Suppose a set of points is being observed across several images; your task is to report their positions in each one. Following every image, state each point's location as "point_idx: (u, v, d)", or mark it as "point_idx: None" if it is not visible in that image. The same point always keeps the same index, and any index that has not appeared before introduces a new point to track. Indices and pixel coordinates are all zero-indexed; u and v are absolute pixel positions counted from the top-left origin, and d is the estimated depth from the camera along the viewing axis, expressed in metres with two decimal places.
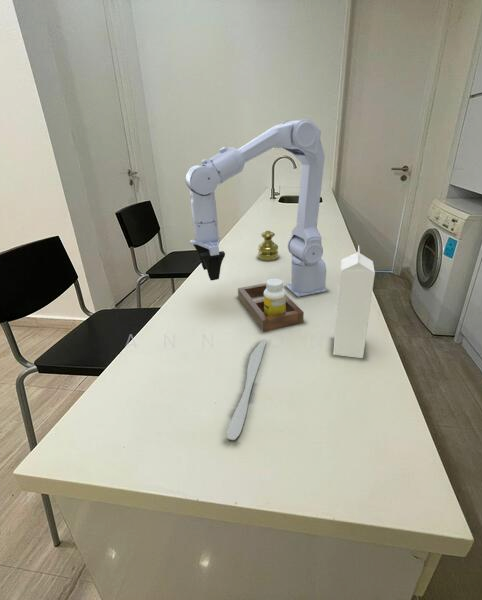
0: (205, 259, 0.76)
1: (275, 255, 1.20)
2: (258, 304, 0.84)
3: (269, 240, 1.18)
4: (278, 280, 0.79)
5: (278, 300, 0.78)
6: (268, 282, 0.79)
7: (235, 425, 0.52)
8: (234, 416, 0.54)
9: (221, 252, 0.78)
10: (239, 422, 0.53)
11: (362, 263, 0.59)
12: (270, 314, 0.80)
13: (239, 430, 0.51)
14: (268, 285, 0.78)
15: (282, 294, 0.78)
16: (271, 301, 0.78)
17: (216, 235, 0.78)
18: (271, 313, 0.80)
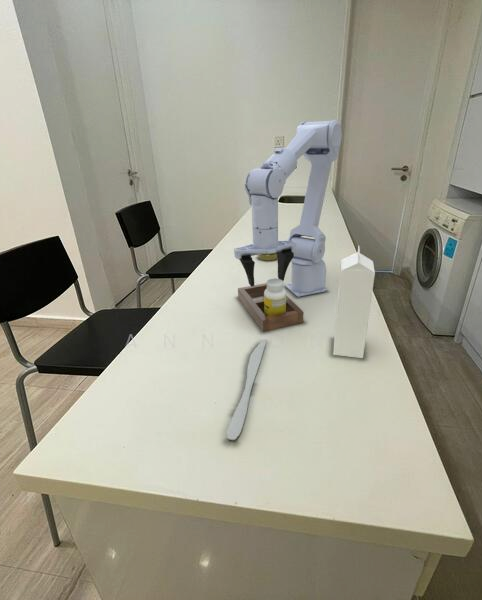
0: None
1: (275, 255, 1.20)
2: (258, 304, 0.84)
3: None
4: (279, 280, 0.79)
5: (278, 301, 0.78)
6: (269, 282, 0.78)
7: (235, 425, 0.52)
8: (234, 416, 0.54)
9: None
10: (239, 422, 0.53)
11: (362, 263, 0.59)
12: (270, 314, 0.80)
13: (239, 430, 0.51)
14: (268, 285, 0.77)
15: (282, 295, 0.78)
16: (271, 301, 0.78)
17: None
18: (271, 313, 0.80)
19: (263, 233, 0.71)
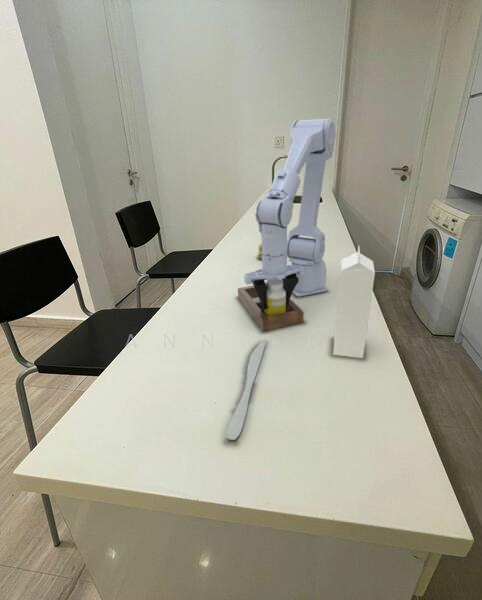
0: None
1: None
2: (258, 304, 0.84)
3: None
4: (278, 280, 0.79)
5: (278, 300, 0.78)
6: (268, 282, 0.79)
7: (235, 425, 0.52)
8: (234, 416, 0.54)
9: None
10: (239, 422, 0.53)
11: (362, 263, 0.59)
12: (270, 314, 0.80)
13: (239, 430, 0.51)
14: (268, 285, 0.78)
15: (282, 294, 0.78)
16: (271, 300, 0.78)
17: None
18: (271, 313, 0.80)
19: (273, 260, 0.73)
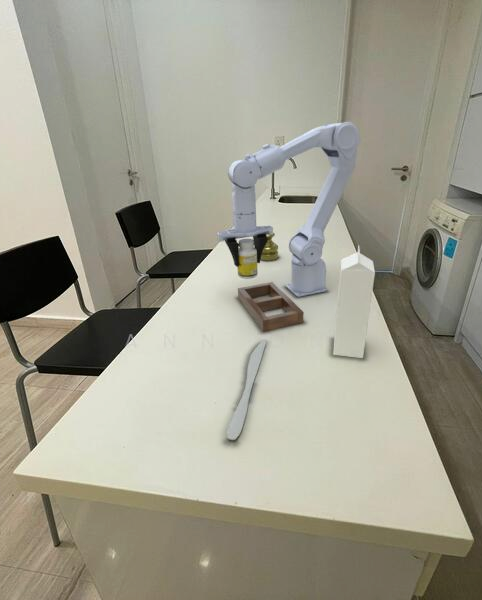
0: None
1: (275, 255, 1.20)
2: (258, 304, 0.84)
3: (269, 240, 1.18)
4: (250, 239, 0.86)
5: (249, 258, 0.85)
6: (240, 241, 0.85)
7: (235, 425, 0.52)
8: (234, 416, 0.54)
9: None
10: (239, 422, 0.53)
11: (362, 263, 0.59)
12: (242, 271, 0.87)
13: (239, 430, 0.51)
14: (240, 243, 0.85)
15: (253, 252, 0.85)
16: (243, 258, 0.85)
17: None
18: (243, 270, 0.87)
19: (242, 218, 0.80)
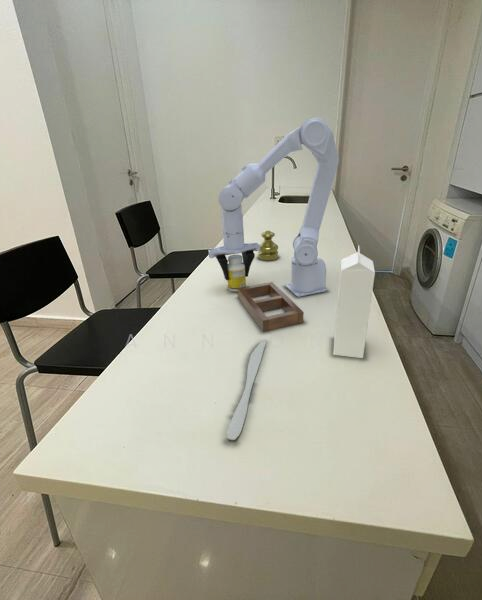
0: None
1: (275, 255, 1.20)
2: (258, 304, 0.84)
3: (269, 240, 1.18)
4: (238, 255, 0.94)
5: (238, 272, 0.93)
6: (230, 257, 0.94)
7: (235, 425, 0.52)
8: (234, 416, 0.54)
9: None
10: (239, 422, 0.53)
11: (362, 263, 0.59)
12: (232, 284, 0.95)
13: (239, 430, 0.51)
14: (229, 259, 0.93)
15: (241, 267, 0.93)
16: (232, 272, 0.93)
17: None
18: (232, 284, 0.95)
19: (231, 237, 0.88)
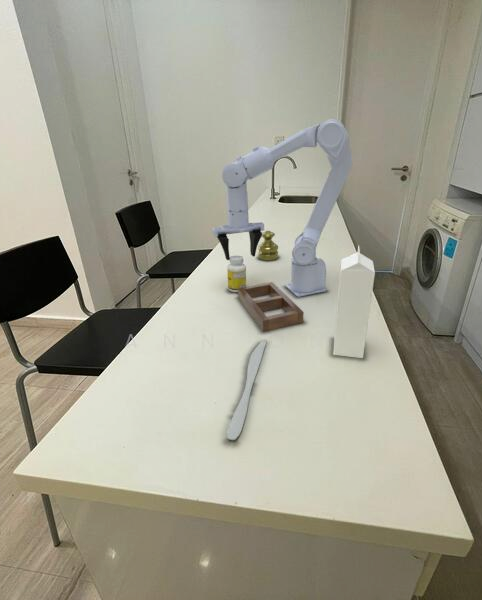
0: None
1: (275, 255, 1.20)
2: (258, 304, 0.84)
3: (269, 240, 1.18)
4: (240, 256, 0.95)
5: (239, 273, 0.94)
6: (231, 257, 0.94)
7: (235, 425, 0.52)
8: (234, 416, 0.54)
9: None
10: (239, 422, 0.53)
11: (362, 263, 0.59)
12: (232, 285, 0.95)
13: (239, 430, 0.51)
14: (230, 259, 0.93)
15: (242, 268, 0.94)
16: (232, 273, 0.94)
17: None
18: (232, 284, 0.95)
19: (235, 215, 0.88)
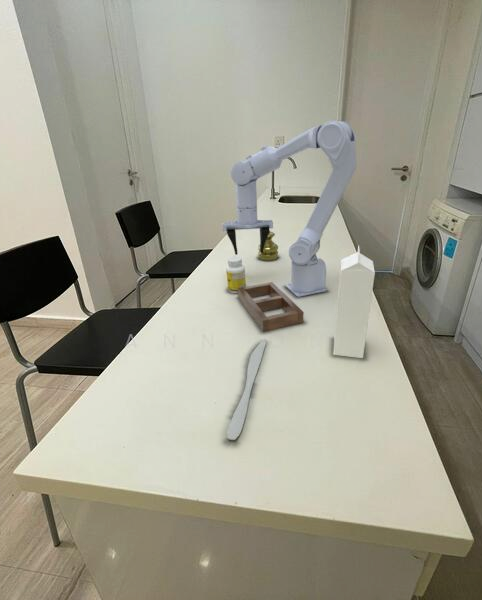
0: (268, 233, 0.95)
1: (275, 255, 1.20)
2: (258, 304, 0.84)
3: (269, 240, 1.18)
4: (238, 257, 0.95)
5: (238, 274, 0.94)
6: (229, 259, 0.94)
7: (235, 425, 0.52)
8: (234, 416, 0.54)
9: None
10: (239, 422, 0.53)
11: (362, 263, 0.59)
12: (232, 286, 0.95)
13: (239, 430, 0.51)
14: (229, 261, 0.93)
15: (241, 269, 0.94)
16: (231, 274, 0.94)
17: None
18: (232, 286, 0.95)
19: (242, 212, 0.91)
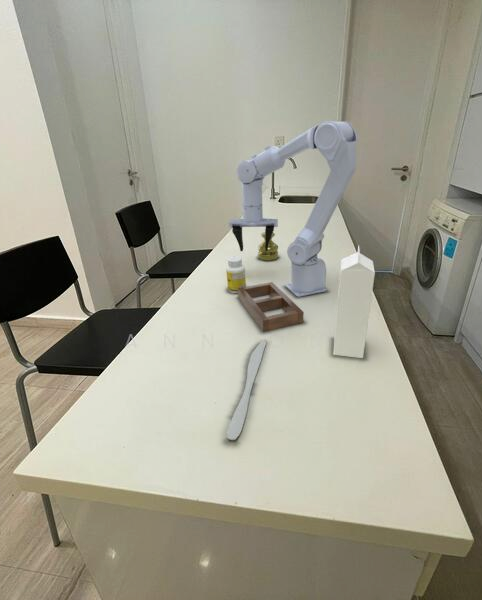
0: (272, 231, 0.97)
1: (275, 255, 1.20)
2: (258, 304, 0.84)
3: None
4: (238, 257, 0.95)
5: (238, 274, 0.94)
6: (229, 259, 0.94)
7: (235, 425, 0.52)
8: (234, 416, 0.54)
9: None
10: (239, 422, 0.53)
11: (362, 263, 0.59)
12: (232, 286, 0.95)
13: (239, 430, 0.51)
14: (229, 261, 0.93)
15: (241, 269, 0.94)
16: (231, 274, 0.94)
17: None
18: (232, 286, 0.95)
19: (247, 209, 0.94)
